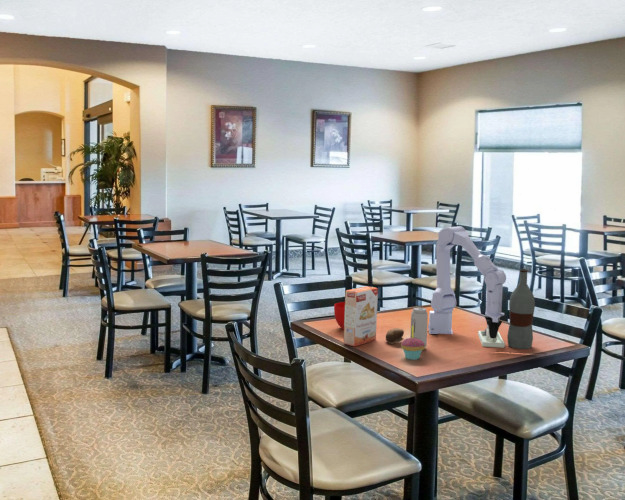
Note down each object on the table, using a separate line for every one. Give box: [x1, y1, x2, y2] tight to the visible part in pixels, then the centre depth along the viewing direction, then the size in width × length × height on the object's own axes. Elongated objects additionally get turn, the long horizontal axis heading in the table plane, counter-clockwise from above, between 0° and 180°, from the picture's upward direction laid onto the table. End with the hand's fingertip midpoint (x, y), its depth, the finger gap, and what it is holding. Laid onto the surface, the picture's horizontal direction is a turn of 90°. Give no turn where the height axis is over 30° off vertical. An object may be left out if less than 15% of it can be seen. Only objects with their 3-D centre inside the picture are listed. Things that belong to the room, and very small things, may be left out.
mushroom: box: [385, 327, 405, 345], centre depth 250 cm, size 8×8×6 cm
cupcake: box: [400, 323, 426, 361], centre depth 230 cm, size 9×8×12 cm
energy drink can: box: [409, 307, 429, 348], centre depth 242 cm, size 6×6×15 cm
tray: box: [477, 330, 506, 349], centre depth 253 cm, size 8×18×2 cm, turn 171°
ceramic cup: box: [333, 301, 345, 331], centre depth 272 cm, size 13×17×10 cm
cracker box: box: [343, 285, 379, 347], centre depth 249 cm, size 14×6×21 cm, turn 139°
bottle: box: [507, 268, 536, 350], centre depth 244 cm, size 9×9×30 cm
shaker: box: [486, 324, 497, 342], centre depth 249 cm, size 4×4×6 cm
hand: (492, 336), depth 249 cm, fingers closed on shaker, 4 cm apart
